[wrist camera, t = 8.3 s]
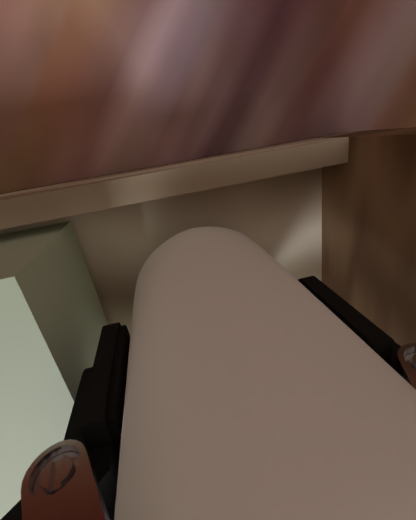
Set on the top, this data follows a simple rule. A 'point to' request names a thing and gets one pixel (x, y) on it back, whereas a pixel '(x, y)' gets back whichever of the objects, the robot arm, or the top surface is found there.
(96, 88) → the top surface
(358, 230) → the channel
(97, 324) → the sliding block
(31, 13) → the top surface
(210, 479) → the can
